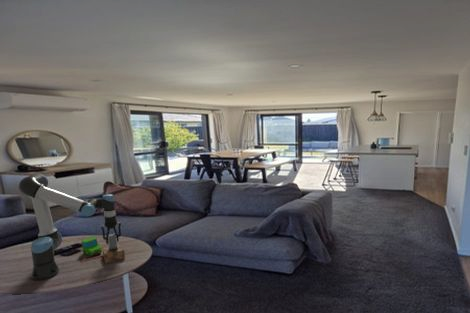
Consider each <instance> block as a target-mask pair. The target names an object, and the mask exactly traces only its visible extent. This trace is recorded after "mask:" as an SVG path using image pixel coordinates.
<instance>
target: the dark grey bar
mask: <svg viewBox="0 0 470 313" xmlns="http://www.w3.org/2000/svg"><path fill="white" fill-rule="evenodd" d="M108 239H109V243H110V251H114V250H117V246H116V234H115V232H114V233H109V236H108Z"/></svg>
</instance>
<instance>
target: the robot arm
mask: <svg viewBox="0 0 470 313" xmlns="http://www.w3.org/2000/svg"><path fill="white" fill-rule="evenodd" d="M48 185H49V179H48V178H47V176H46V175H44V174H43V173H42V174H41V173H34V174H30V175H28V176H26V177H23V178H22V179H20V181H19V183H18V190H19V191H20V193H21V194H23V195H25V196H27V197H28V198H30V199H31V202H32V205H33V210H34V214H35V217H36V222H37V226H38V229H39V233H38V234H37V237H38V238H36V239H35V240H33V241H32V243H31V244H30V252H31V257H32V258H31V259H32V265H33V266H32V270H31V273H30V274H31V275H30V278H31V280H32V281H38V282H39V281H44V280H48V279H50V278H53V277H54V276H57V275H58V274H59V272H60V269H59V266H58V264H57V263H56V260H55V251H56V250H57V249H58V248H59V247H60V245H61V244H62V242H63V236H62V234H61V232H59V231H58V230H59V229H58V228H56V227H55V225H54V220H53V217H52V213H51V212H52V211H51V209H50V205H49V202H50V203H53V204H55V205H58V206H61V207H64V208H67V209H70V210H73V211H76V212H79V213H81V214H82V216H85V217H91V216H93V215H94V214H95V213H96V211H97V210H101V209H103V215H104V224H103V225H100V228H101V231H102V232H101V233H102V239H103V240H105V243H106V244H107V247H108V248H110V243H109V237H108V236H109V234H110V230H111V229H113V231H114V233H115V235H116V246H117V245H118V242H119V238H120V237H121V236H122V234H121V233H122V231H121V225H122V223H121V221H119V222H118V221H117V215H116V201H115V195H114V194H112V193H108V194H103V196H102V197H100V198H97V197H96V198H88V199H84V200H83V199H80V198H77V197H75V196H72V195H69V194H66V193H64V192H60V191H58V190H55V189H52V188H50V187H48ZM116 227H117V228H118V229H116ZM105 228H106V231H105ZM117 230H118V232H117ZM105 232H106V234H105ZM117 247H118V246H117Z"/></svg>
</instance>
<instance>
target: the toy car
mask: <svg viewBox="0 0 470 313" xmlns="http://www.w3.org/2000/svg"><path fill="white" fill-rule="evenodd" d="M81 246H82V247H81V249H82V253H83V254H84V255H88V257H92V256H95V255H98V254H100V253H103V249H102V246H100V244H99V243H98V240H97V238H95V237H89V238H86V239H83V240H81Z"/></svg>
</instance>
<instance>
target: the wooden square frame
mask: <svg viewBox="0 0 470 313" xmlns="http://www.w3.org/2000/svg"><path fill="white" fill-rule="evenodd" d="M117 246H118V247H117V250H114V251H110V248H108V246H107V247H102V255H103V256H102V257H103V259H104V263H105V264H106V263H107V264H108V263H111V262H114V261H119V260H122V259H125V249H124V246H123V244H122V243H119V244H117Z"/></svg>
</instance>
